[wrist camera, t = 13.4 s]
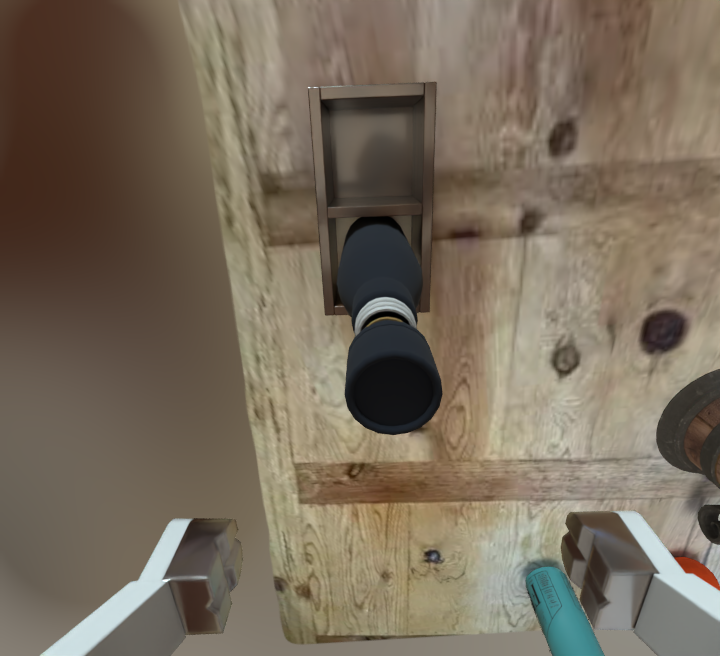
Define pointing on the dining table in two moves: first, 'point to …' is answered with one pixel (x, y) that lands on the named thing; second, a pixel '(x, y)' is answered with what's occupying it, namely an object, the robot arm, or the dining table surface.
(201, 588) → the robot arm
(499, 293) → the dining table surface
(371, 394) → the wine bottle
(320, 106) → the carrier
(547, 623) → the beverage bottle
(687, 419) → the tankard
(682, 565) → the clementine
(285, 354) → the dining table surface
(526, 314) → the dining table surface
